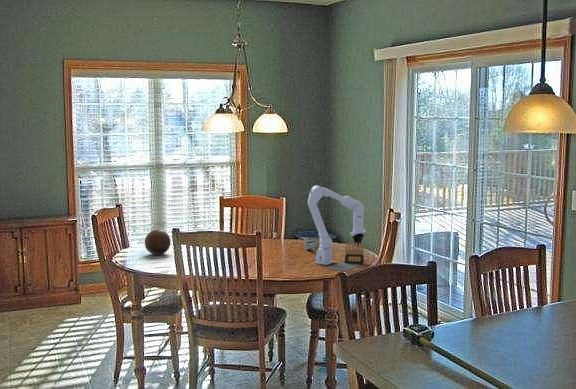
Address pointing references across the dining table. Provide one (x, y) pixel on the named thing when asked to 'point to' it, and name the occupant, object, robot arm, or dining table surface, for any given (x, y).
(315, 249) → the gun
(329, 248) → the robot arm
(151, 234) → the wooden sphere
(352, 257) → the ammunition clip
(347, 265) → the mat
